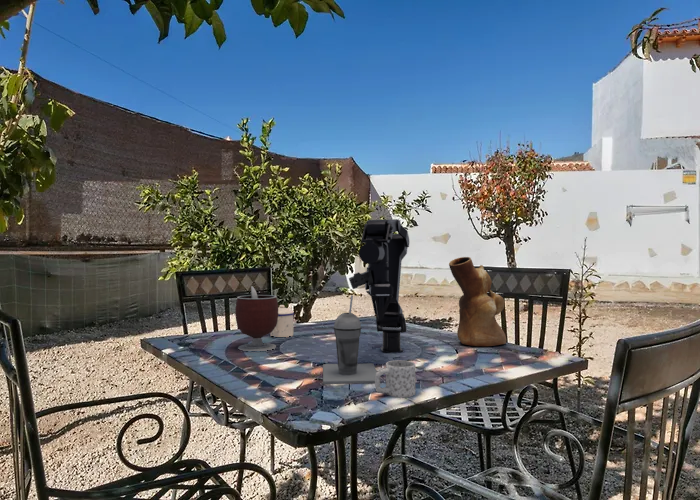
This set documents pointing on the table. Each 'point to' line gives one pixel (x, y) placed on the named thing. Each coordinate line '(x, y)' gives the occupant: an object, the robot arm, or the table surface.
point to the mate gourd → (256, 319)
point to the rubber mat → (363, 375)
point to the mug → (397, 379)
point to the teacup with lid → (283, 323)
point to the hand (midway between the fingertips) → (378, 317)
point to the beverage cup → (347, 341)
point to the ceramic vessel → (477, 305)
